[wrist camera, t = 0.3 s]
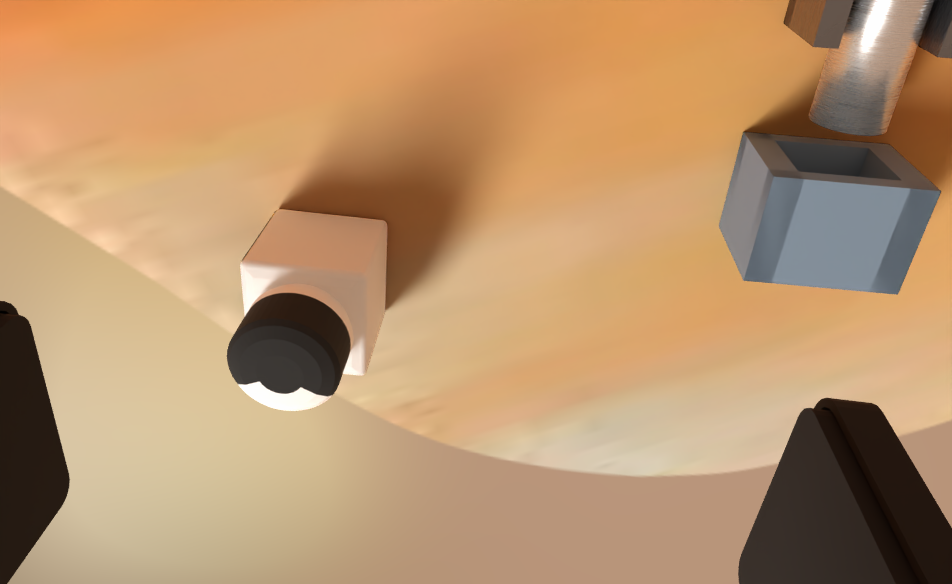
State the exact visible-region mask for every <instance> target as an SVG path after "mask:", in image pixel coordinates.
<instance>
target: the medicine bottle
mask: <svg viewBox="0 0 952 584" xmlns="http://www.w3.org/2000/svg"><path fill="white" fill-rule="evenodd" d="M386 264H387V223H386V222H385V221H384V220H377V219H368V218H359V217H350V216H340V215H331V214H322V213H312V212H303V211H294V210H285V209H278V210H277V211H275V213H274V214H273V215H272V217H271V218H270V220H269V221H268V223H267V224H266V226H265V227H264V229H263V230H262V232H261V233H260V235H259V236H258V238H257V239H256V240H255V242H254V243H253V245H252V246H251V248H250V249H249V251H248V252H247V254H246V255H245V257H244V258H243V260H242V261H241V264H240V269H241V280H242V291H243V302H244V313H245V317H244V319H243V320H242V322H241V324H240V326H239V327H238V329H237V331H236V332H235V334H234V336H233V337H232V339H231V341H230V343H229V346H228V350H227V361H228V366H229V369H230V371H231V374H232V376H233V378H234V379H235V381H236V382H237V383H238V385H239V386H240V387H241V389H242V390H243V391H245V393H247V394H248V395H249V396H250V397H252V398H253V399H254V400H256V401H258V402H260V403H262V404H264V405H266V406H269V407H271V408H276V409H279V410H287V411H297V410H305V409H309V408H313V407H316V406H318V405H320V404H322V403H324V402H325V401H326V400H328V399H329V398H330V397H331V396H332V395H333V394H334V392H335V391H336V389H337V387H338V385H339V383H340V380H341V377H342V374H352V375H364V374H365V373H366V371H367V368H368V365H369V362H370V359H371V356H372V352H373V349H374V346H375V343H376V340H377V337H378V333H379V330H380V327H381V324H382V321H383V317H384V314H385V302H386Z"/></svg>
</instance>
